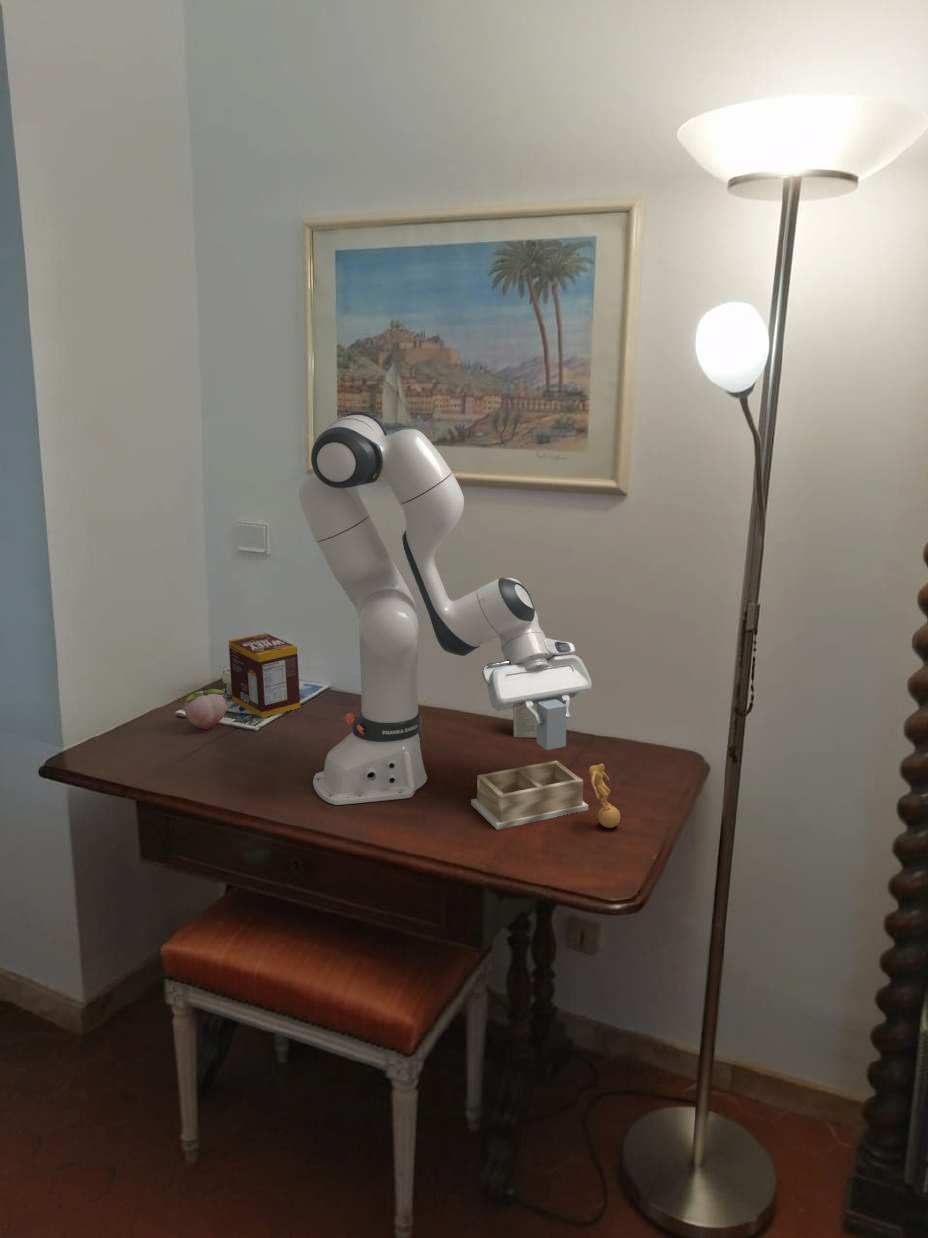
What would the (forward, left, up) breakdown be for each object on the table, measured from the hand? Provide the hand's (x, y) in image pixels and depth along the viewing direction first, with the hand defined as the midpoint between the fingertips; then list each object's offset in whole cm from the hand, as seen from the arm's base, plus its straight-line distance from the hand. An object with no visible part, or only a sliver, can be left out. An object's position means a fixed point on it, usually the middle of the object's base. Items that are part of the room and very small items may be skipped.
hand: (553, 722), depth 180 cm
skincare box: (+12, +33, -17) cm, 39 cm away
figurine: (+5, -11, -17) cm, 21 cm away
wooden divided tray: (-4, +1, -17) cm, 17 cm away
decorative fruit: (-53, +65, -17) cm, 85 cm away
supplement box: (-37, +75, -17) cm, 85 cm away
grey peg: (0, +1, -5) cm, 5 cm away
